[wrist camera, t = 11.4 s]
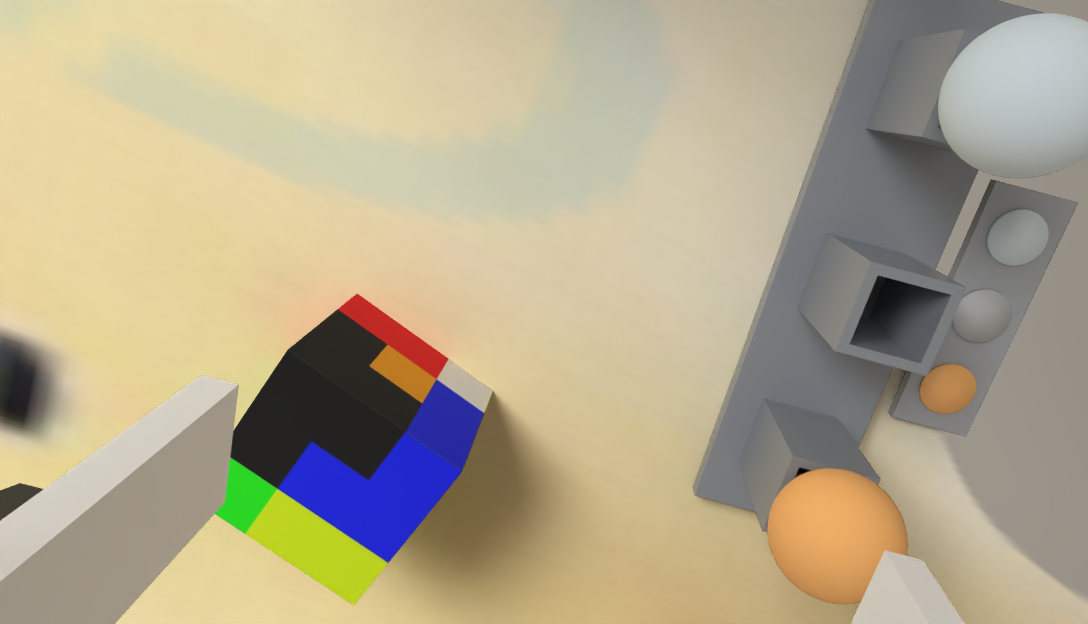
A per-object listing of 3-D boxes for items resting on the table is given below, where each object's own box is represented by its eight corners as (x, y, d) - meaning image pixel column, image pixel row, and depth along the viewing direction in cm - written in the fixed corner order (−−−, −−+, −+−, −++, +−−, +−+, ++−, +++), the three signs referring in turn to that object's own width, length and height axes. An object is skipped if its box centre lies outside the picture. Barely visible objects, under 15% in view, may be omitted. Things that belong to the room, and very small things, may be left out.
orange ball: (781, 431, 36) (812, 498, 30) (900, 464, 36) (953, 536, 30) (740, 532, 38) (762, 613, 32) (853, 563, 38) (896, 649, 32)
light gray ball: (948, 4, 30) (1029, -17, 24) (1090, 42, 30) (1206, 30, 24) (891, 149, 32) (954, 162, 26) (1025, 185, 32) (1118, 206, 26)
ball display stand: (878, -27, 36) (950, -58, 29) (1034, 15, 36) (1148, -5, 29) (692, 487, 45) (710, 567, 38) (817, 520, 45) (860, 607, 38)
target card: (991, 179, 39) (998, 181, 38) (1071, 201, 39) (1080, 203, 38) (888, 412, 43) (893, 418, 42) (960, 431, 43) (967, 438, 42)
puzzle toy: (493, 390, 45) (462, 471, 35) (404, 502, 48) (353, 605, 38) (357, 293, 44) (287, 349, 34) (274, 413, 46) (189, 496, 37)
